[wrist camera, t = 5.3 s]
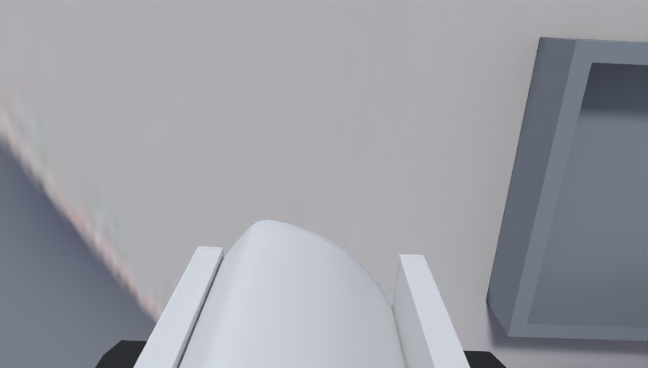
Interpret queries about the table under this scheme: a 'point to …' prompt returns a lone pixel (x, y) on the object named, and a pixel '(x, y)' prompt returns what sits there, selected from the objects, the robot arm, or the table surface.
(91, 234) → the table surface
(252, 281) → the eye dropper bottle
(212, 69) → the table surface
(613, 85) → the tray
